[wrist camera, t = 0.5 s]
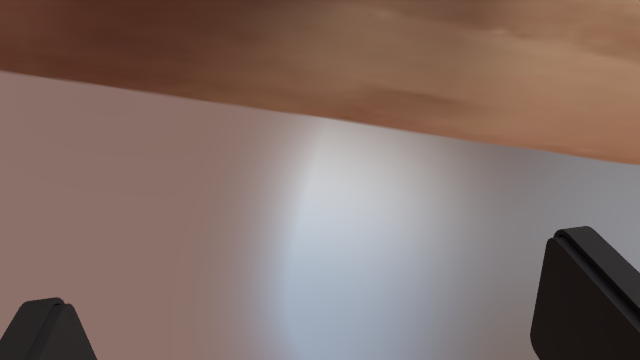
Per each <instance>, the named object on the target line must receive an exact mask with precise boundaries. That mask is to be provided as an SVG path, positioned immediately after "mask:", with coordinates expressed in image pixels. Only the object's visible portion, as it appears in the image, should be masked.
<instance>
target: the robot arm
mask: <svg viewBox="0 0 640 360" xmlns="http://www.w3.org/2000/svg"><path fill="white" fill-rule="evenodd" d="M530 338H531V343H532V346H533V349H534V351H535V353H536V354H537V356H538V357H539V359H540V360H640V273H639V272H638V271H637V270H636V269H635V268H634V267H633V266H632V265H631V264H629V263H628V262H627V261H626V260H625V259H624V258H623V257H622V256H621V255H620V254H619V253H618V252H617V251H616V250H615V249H614V248H613V247H612V246H611V245H609V244H608V243H607V242H606V241H605V240H604V239H603V238H602V237H601V236H600V235H599V234H598V233H597V232H596V231H595V230H594V229H592V228H591V227H588V226H583V227H576V228H569V229H560V230H558V231H557V232H556V233H555V234H554V237H553V238H550V239H549V240H548V241H547V244H546V249H545V256H544V260H543V266H542V271H541V277H540V283H539V288H538V293H537V299H536V304H535V310H534V316H533V321H532V327H531V332H530ZM0 360H97V358H96V356H95V354H94V352H93V349H92V347H91V345H90V343H89V340H88V338H87V336H86V334H85V331H84V329H83V327H82V325H81V322H80V320H79V318H78V315H77V313H76V311H75V309H74V307H73V306H72V305H71V304H65V303H64V302H63V300H61V299H60V298H48V299H41V300H34V301H27V302H25V303H23V304H22V306H21V307H20V308H19V310H18V312H17V313H16V315H15V317H14V318H13V320H12V321H11V323H10V325H9V326H8V328H7V330H6V331H5V333H4V335H3V336H2V338H1V340H0Z"/></svg>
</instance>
